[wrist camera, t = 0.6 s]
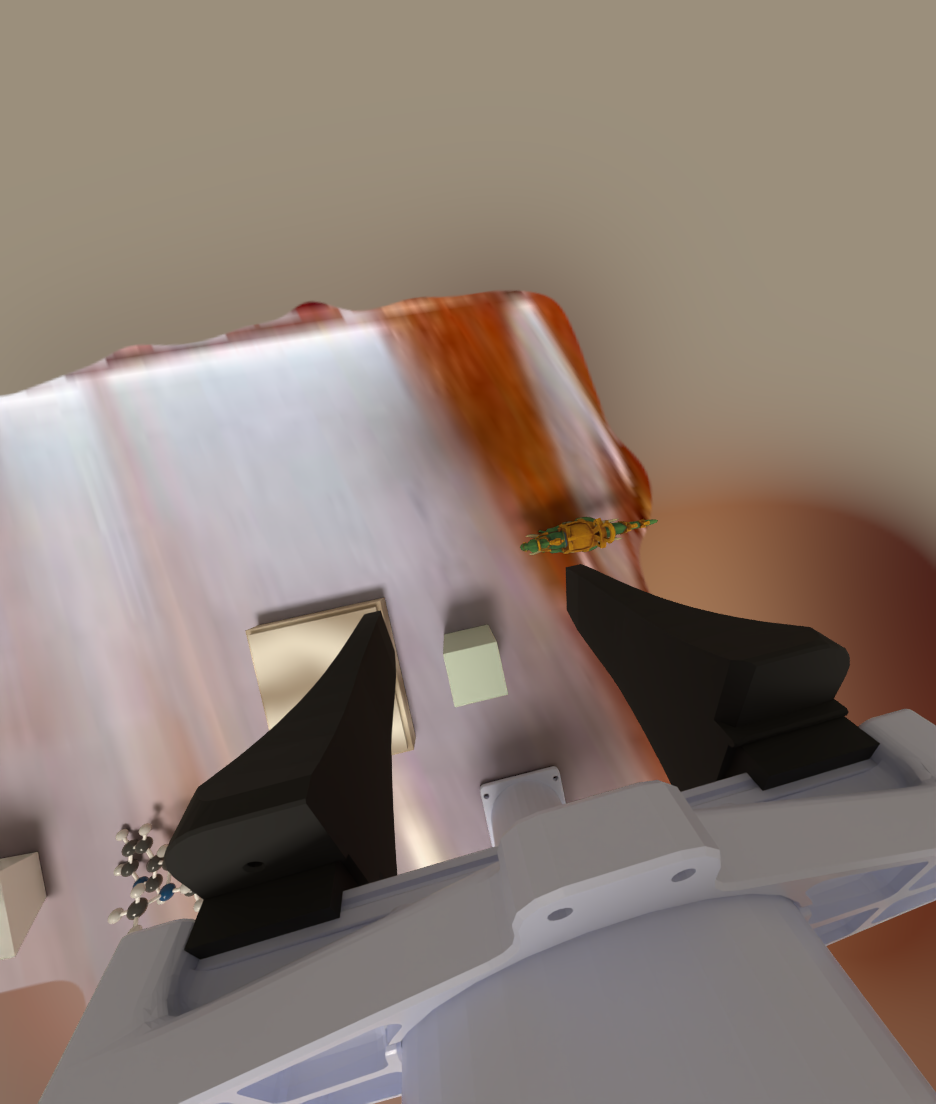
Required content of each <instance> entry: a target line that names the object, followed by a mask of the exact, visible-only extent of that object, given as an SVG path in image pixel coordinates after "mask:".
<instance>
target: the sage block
mask: <svg viewBox="0 0 936 1104" xmlns="http://www.w3.org/2000/svg"><path fill="white" fill-rule="evenodd" d="M443 656H444V661H445V665H446V670H447V674H448V679H449V683H450V688H451V692H452V697H453V702H454V706H455V707H459V706H463V705H467V704H471V703H475V702H479V701H483V700H487V699H492V698H496V697H500V696H504V695H508V692H507V687H506V683H505V678H504V673H503V669H502V664H501V659H500V655H499V650H498V645H497V641H496V639H495V637H494V635H493V633H492V631H491V630H490V628H489V626H488V625H483V626H479V627H474V628H470V629H466V630H461V631H457V632H453V633H448V634H444V645H443Z"/></svg>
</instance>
